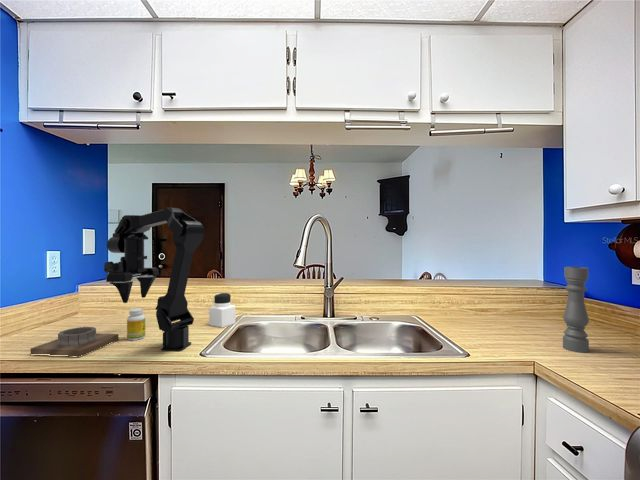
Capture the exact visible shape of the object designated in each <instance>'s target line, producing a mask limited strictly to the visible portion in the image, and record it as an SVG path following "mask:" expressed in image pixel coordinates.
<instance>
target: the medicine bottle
mask: <svg viewBox="0 0 640 480" xmlns="http://www.w3.org/2000/svg"><path fill="white" fill-rule="evenodd" d="M213 297H214V299H213V300H214V303H213V304H214V305H212V306H209V307H208V308H209V309H208V311H209V312H208V324H209V326H212V327H215V328H217V327H218V328H220V329H221V328H225V327H229V326H232V325H235V324H236V305H233V304H231V301H232V300H231V297H232V296H231V294H230V293H227V292H219V293H215V295H214V296H213Z"/></svg>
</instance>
